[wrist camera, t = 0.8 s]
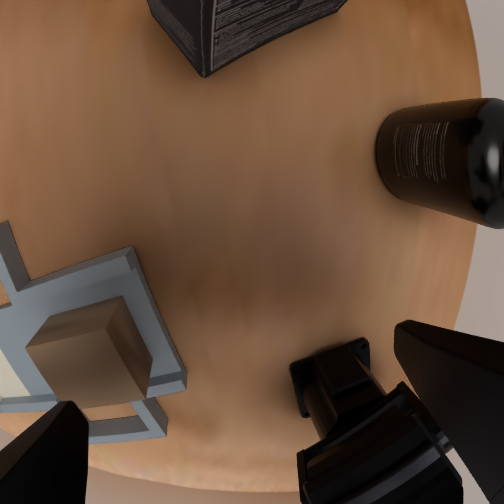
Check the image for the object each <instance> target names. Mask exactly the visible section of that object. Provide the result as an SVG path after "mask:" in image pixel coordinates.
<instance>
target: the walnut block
mask: <svg viewBox="0 0 504 504" xmlns="http://www.w3.org/2000/svg"><path fill="white" fill-rule="evenodd" d="M25 349H26V351H27V353H28V354H29V356H30V358H31V359H32V361H33V362H34V364H35V366H36V367H37V369H38V370H39V372H40V373H41V375H42V376H43V378H44V379H45V381H46V382H47V384H48V385H49V387H50V388H51V389H52V391H53V392H54V394H55V395H56V396H57V398H58V399H59V401H67V400H71V401H73V402H75V403H76V405H77V406H78V408H79V409H83V408H92V407H100V406H107V405H115V404H121V403H128V402H134V401H140V400H146V396H147V390H148V384H149V378H150V373H151V368H152V362H153V358H152V356H151V354H150V352H149V350H148V348H147V346H146V344H145V342H144V340H143V338H142V336H141V334H140V332H139V330H138V328H137V326H136V324H135V322H134V320H133V318H132V315H131V313H130V311H129V309H128V307H127V305H126V302H125V300H124V298H123V295H121V296H117V297H114V298H110V299H107V300H104V301H100V302H97V303H93V304H90V305H86V306H83V307H79V308H76V309H72V310H69V311H65V312H62V313H58V314H55V315H51V316H49V317H48V318H47V320H46V321H45V322H44V323H43V325H42V326H41V327H40V328H39V330H38V331H37V332H36V334H35V335H34V336H33V337H32V339H31V340H30V341H29V343H28V344H27V345H26V347H25Z"/></svg>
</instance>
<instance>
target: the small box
mask: <svg viewBox="0 0 504 504" xmlns="http://www.w3.org/2000/svg"><path fill="white" fill-rule="evenodd" d="M147 2H148V5H149V7H150V12H151V14H152V16H153V17H154V18H155V19H156V21H157V22H158V23H159V24H160V25H161V27H162V28H163V29H164V30H165V32H166V33H167V34H168V35H169V37H170V38H171V39H172V40H173V42H174V43H175V44H176V45H177V47H178V48H179V49H180V51H181V52H182V53H183V54H184V55H185V57H186V58H187V59H188V61H189V62H190V63H191V64H192V66H193V67H194V68H195V70H196V71H197V72H198V74H199V75H200V76H201V77H207V76H209V75H210V74H212V73H213V72H215V71H217V70H219V69H220V68H222V67H224V66H226V65H227V64H229V63H231V62H232V61H234V60H236V59H238V58H240V57H241V56H243V55H245V54H247V53H249V52H251V51H253V50H255V49H256V48H258V47H260V46H262V45H264V44H266V43H268V42H270V41H272V40H274V39H276V38H278V37H280V36H282V35H284V34H286V33H289V32H291V31H293V30H295V29H298V28H299V27H302V26H304V25H306V24H309V23H311V22H313V21H316V20H318V19H320V18H323V17H325V16H327V15H330V14H332V13H335V12H337V11H338V10H339V9H340V8H341V7H342V6H343V5H344V4H345V3H346V2H347V0H147Z"/></svg>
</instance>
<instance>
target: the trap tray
mask: <svg viewBox="0 0 504 504" xmlns="http://www.w3.org/2000/svg"><path fill="white" fill-rule="evenodd" d="M0 279H1V281H2V284H3V286H4V288H5V290H6V293H7V295H8V297H9V299H10V301H11V302H10V303H8V304H5V305H2V306H0V413H13V412H38V411H49V410H50V409H51V408H53V407H54V406H55V405H56V404H57V403H59V402H60V401H59V399H58V398H57V396H56V395H55V394H54V392H53V391H52V389H51V388H50V387H49V385H48V384H47V382H46V381H45V379H44V378H43V376H42V375H41V373H40V372H39V370H38V369H37V367H36V366H35V364H34V362H33V361H32V359H31V358H30V356H29V354H28V353H27V351H26V349H25V347H26V345H27V344H28V343H29V341H30V340H31V339H32V337H33V336H34V335H35V334H36V332H37V331H38V330H39V328H40V327H41V326H42V325H43V323H44V322H45V321H46V320H47V318H48V317H49V316H51V315H55V314H58V313H62V312H65V311H69V310H72V309H76V308H79V307H83V306H86V305H90V304H93V303H97V302H100V301H104V300H107V299H110V298H114V297H117V296H121V295H123V298H124V300H125V302H126V305H127V307H128V309H129V311H130V313H131V315H132V318H133V320H134V322H135V324H136V326H137V328H138V330H139V332H140V334H141V336H142V338H143V340H144V342H145V344H146V346H147V348H148V350H149V352H150V354H151V356H152V358H153V362H152V368H151V373H150V378H149V384H148V390H147V396H146V400H140V401H134V402H130V404H131V405H132V407H133V408H134V409H135V411H136V412H137V414H138V415H139V416H132V417H125V418H117V419H109V420H100V421H89V420H88V419H87V417H86V416H85V415H84V414H83V415H84V416H85V418H86V419H87V421H88V423H89V444H103V443H116V442H127V441H137V440H145V439H153V438H160V437H167V425H168V418H167V417H166V415H165V414H164V412H163V411H162V409H161V408H160V406H159V405H158V403H157V401H156V400H155V398H154V397H157V396H162V395H167V394H172V393H177V392H181V391H186V390H187V371H186V369H185V367H184V365H183V363H182V361H181V359H180V357H179V355H178V353H177V351H176V349H175V347H174V344H173V342H172V340H171V338H170V336H169V333H168V331H167V329H166V327H165V325H164V322H163V320H162V318H161V315H160V313H159V311H158V308H157V306H156V304H155V301H154V299H153V297H152V294H151V292H150V289H149V287H148V284H147V282H146V279H145V277H144V274H143V272H142V269H141V266H140V264H139V261H138V258H137V256H136V253H135V250H134V248H133V246H130V247H126V248H123V249H120V250H117V251H114V252H111V253H108V254H105V255H102V256H99V257H96V258H93V259H91V260H88V261H85V262H82V263H79V264H76V265H73V266H70V267H67V268H65V269H62V270H59V271H56V272H53V273H51V274H48V275H45V276H42V277H40V278H37V279H34V280H31V281H30V279H29V276H28V274H27V272H26V269H25V267H24V264H23V262H22V259H21V257H20V254H19V251H18V249H17V246H16V243H15V241H14V238H13V235H12V232H11V229H10V226H9V223H8V221H6V222H3V223H1V224H0ZM81 412H82V411H81ZM82 413H83V412H82Z"/></svg>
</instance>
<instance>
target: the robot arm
mask: <svg viewBox="0 0 504 504" xmlns="http://www.w3.org/2000/svg"><path fill="white" fill-rule="evenodd" d="M362 344H363V345H362ZM361 345H362V346H361ZM394 353H395V356H396V358H397V360H398V361H399V363H400V365H401V367H402V368H403V370H404V372H405V374H406V376H407V377H408V379H409V381H410V383H411V385H412V386H413V388H414V390H415V392H416V393H417V395H418V397H419V398H420V399H419V398H418V397H417V396H416V395H415V394H414V393H413V392H412V390H411V389H410V388H409V387H408V386H407V385H406V384H405V383H404V382H403V381H402V382H400V383H399V384H398V385H397V387H396V388H395V389H394V390H392V391H391V392H390V393H389V394H387V393H386V392H385V391H384V389H383V388H382V386H381V385H380V384H379V382H378V381H377V380H376V378H375V377H374V376H373V374H372V373H371V372H370V347H369V342H368V340H367V339H366V338H361V339H359V340H356V341H354V342H351V343H349V344H346V345H343V346H341V347H338V348H335V349H333V350H330V351H327V352H324V353H322V354H319V355H316V356H313V357H310V358H307V359H304V360H302V361H299V362H296V363H293V364H292V365H291V366H290V368H289V370H290V374H291V378H292V382H293V386H294V390H295V394H296V398H297V402H298V405H299V409H300V413H301V416H302V417H303V418H308V417H311V419H312V421H313V423H314V426H315V428H316V430H317V433H318V435H319V437H320V440H321V441H319V442H317V443H316V444H314V445H312V446H311V447H309V448H307V449H305V450H304V449H303V450H301V451H300V452H298V453H297V468H298V479H299V491H300V501H301V503H302V504H463V487H462V478H461V476H460V475H459V473H458V472H457V470H456V469H455V468H454V466H453V465H452V463H451V462H450V460H449V459H448V458H447V456H446V455H445V454H446V453H448V452H449V451H450V450H451V449H452V448H454V449H455V450H456V452H457V453H458V455H459V456H460V458H461V459H462V461H463V462H464V464H465V465H466V467H467V468H468V470H469V471H470V473H471V474H472V476H473V477H474V479H475V480H476V482H477V484H478V485H479V487H480V488H481V490H482V492H483V493H484V495H485V496H486V498H487V500H488V501H490V502H489V503H490V504H504V342H500V341H496V340H492V339H487V338H483V337H479V336H474V335H470V334H466V333H462V332H458V331H454V330H450V329H445V328H441V327H437V326H433V325H429V324H425V323H421V322H417V321H413V320H405V321H403V322H400V323H398V324H397V325H396V326H395V329H394ZM296 368H298V369H297V370H295V369H296ZM421 401H422V402H421ZM88 445H89V423H88V421H87V419H86V418H85V416H84V415H83V413H82V412H81V410H80V409H79V408H78V406H77V405H76V403H75V402H73V401H71V400H67V401H60V402H59V403H57V404H56V405H55V406H54V407H53V408H51V409H50V410H49V411H48V412H46V413H45V414H44V415H43V416H42V417H40V418H39V419H38V420H37V421H36V422H34V423H33V424H32V425H31V426H30V427H28V428H27V429H26V430H25V431H24V432H22V433H21V434H20V435H19V436H18V437H16V438H15V439H14V440H13V441H12V442H10V443H9V444H8V445H7V446H6V447H5V448H3V449H2V450H1V451H0V504H85V496H86V485H87V475H88Z"/></svg>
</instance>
